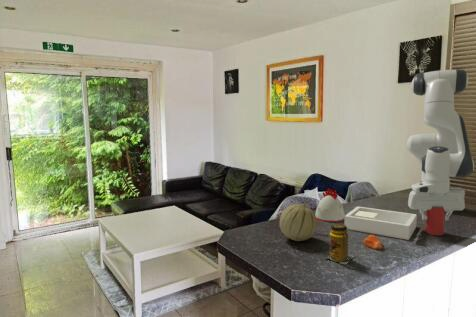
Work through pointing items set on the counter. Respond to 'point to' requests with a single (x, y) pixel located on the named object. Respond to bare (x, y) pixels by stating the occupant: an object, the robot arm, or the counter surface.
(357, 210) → the tray
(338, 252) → the condiment
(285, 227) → the cantaloupe
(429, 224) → the beer can
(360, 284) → the counter surface
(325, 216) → the kitchen timer
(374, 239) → the rock
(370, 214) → the cream rectangular box
